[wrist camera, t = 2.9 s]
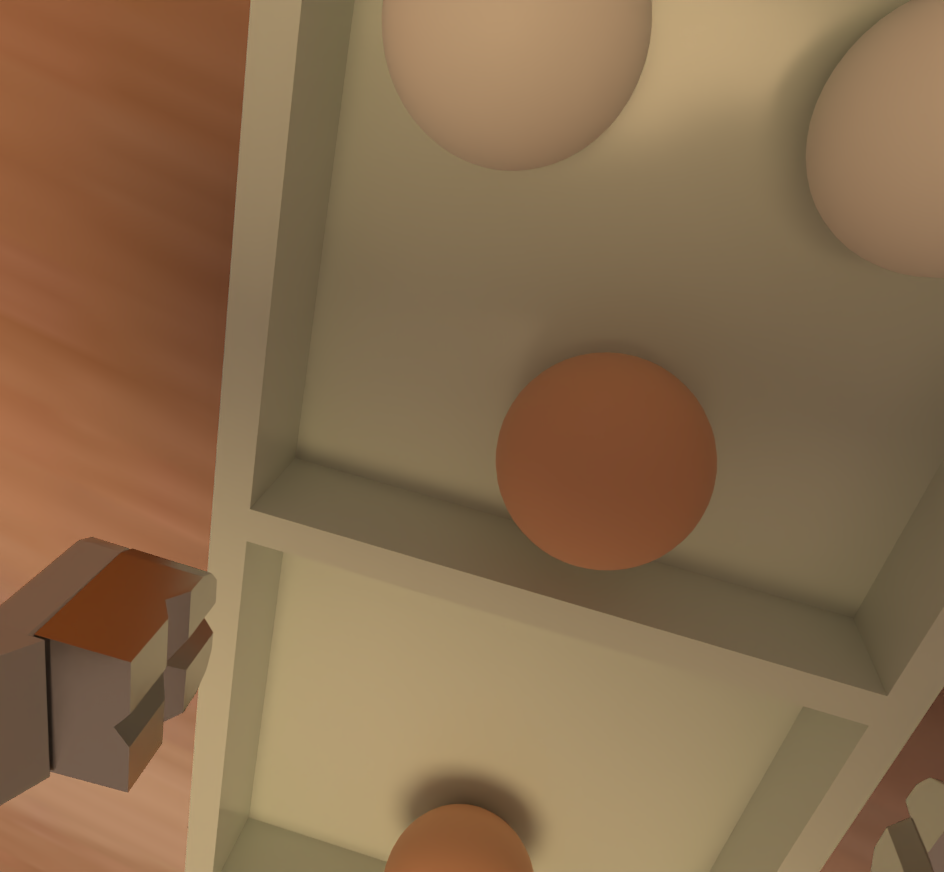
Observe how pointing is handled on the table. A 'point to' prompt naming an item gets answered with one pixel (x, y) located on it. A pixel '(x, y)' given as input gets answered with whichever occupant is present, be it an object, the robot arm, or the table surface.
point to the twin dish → (477, 491)
